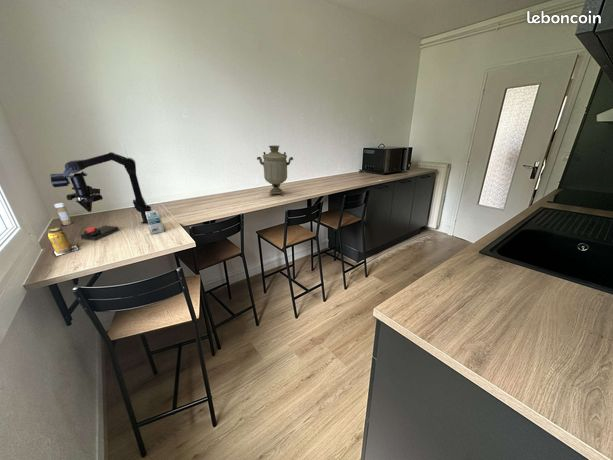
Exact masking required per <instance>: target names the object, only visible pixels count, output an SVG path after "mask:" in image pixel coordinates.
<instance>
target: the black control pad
mask: <svg viewBox="0 0 613 460" xmlns="http://www.w3.org/2000/svg"><path fill="white" fill-rule="evenodd" d="M95 228H96V231H94V232H89V233H87V231H86V230H83V233H82V234H80V235H79V236H80V238H81V239H82V240H87V241H88V240H89V241H98V240H100V239H102V238H105V237H107V236H109V235H111V234H113V233H116V232H118V231H120V229H119V227H118V226H112V225H102V226H100V227H95Z"/></svg>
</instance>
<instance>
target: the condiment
mask: <svg viewBox="0 0 613 460" xmlns="http://www.w3.org/2000/svg"><path fill="white" fill-rule="evenodd" d="M47 235H48V239H49V241H50V244H51V246H52V248H53V250H54V251H53V252H54V254H55V256H56V257H57V256H61V255H64V254H68V253H70V252H71V253H72V252H75V251H77V250H79V248H78V246H77V245H76V244H75V245H72V246H71V243H70V241H69V239H68V237H67V235H66V233H65V232H64V230H63V228H62V227H53V228H49V229H48V230H47Z"/></svg>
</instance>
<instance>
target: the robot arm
mask: <svg viewBox="0 0 613 460" xmlns="http://www.w3.org/2000/svg"><path fill="white" fill-rule="evenodd" d="M111 161H112V162H115V163H117V164H119V165H122V166H123V167H124V169H125V171H126V173H127V175H128V178H129V180H130V183H131V187H132V192H133V195H134V199H132V204H133V206H134V207H133V208H134V209H135V210H136V211H137V212H138V213H140V215H141V216H140V217H141V219H142V221H141V224H147V225H149V223H148V220H147V217H146V213H145V212H147V211H153V210H152V206H150V205H149V204H147V202H146V200H145V198H144V197H143V194H142V190H141V187H140V183H139V179H138V175H137V163H136V160H135V159H134V158H132V157H125V156H124V155H120V154H117V153H115V152H113V151H110V152H108V153H105V154H101V155H100V154H99V155H97V156H94V157H90V158H86V159H74V160H69V161H68V162H66V163H65V164H64V171H63V173H50V183H51V185H52V187H53V188H62V187H63V188H64V187H70V185H71V184H72V187H71V189H72V190H74V192H72V193H69V194H67V195H66V200H67V201H73V199H76V200H75V202H76V203H78V205H80V206H81V207H82V208H83V209H85V210H86V211H87V212H88V213H92V210H93V207H92V206H93V203H94V202H99V201H102V200H103V199H104V198H103V195H102V194H101V188H93V187H92V186H90V185H88V184H87V181H86V179H85V177H87V176H88V175H89V174H88V173H87V172H84V171H83V170H85V169H87V168H89V167H92V166H95V165H99V164H103V163H107V162H111ZM80 171H81V172H80Z"/></svg>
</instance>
